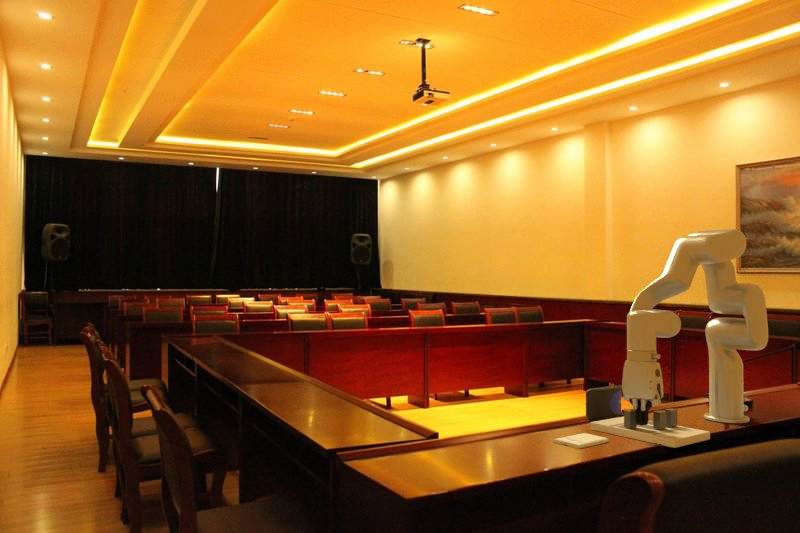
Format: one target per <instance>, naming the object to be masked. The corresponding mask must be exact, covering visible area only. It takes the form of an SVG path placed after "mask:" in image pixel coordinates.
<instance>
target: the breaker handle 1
mask: <svg viewBox="0 0 800 533" xmlns="http://www.w3.org/2000/svg"><path fill="white" fill-rule="evenodd" d="M652 413H653V414H652V416H653V418H652V421H653V428H656V429H664V428H666V411H665V410H661V409H660V410H655V411H653V412H652Z"/></svg>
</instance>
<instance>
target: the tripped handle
mask: <svg viewBox="0 0 800 533" xmlns="http://www.w3.org/2000/svg"><path fill="white" fill-rule="evenodd" d="M623 416H624V427H627V428H634V427H637V425H636V420H635V409H634V408H633V406H632V407H631V406H629V407H624V408H623Z"/></svg>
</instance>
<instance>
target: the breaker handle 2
mask: <svg viewBox="0 0 800 533" xmlns="http://www.w3.org/2000/svg"><path fill="white" fill-rule="evenodd" d="M664 411H666V426H669V427H674V426H678V409H677V408H676V409H675V408H672V407H671V408H665V409H664Z"/></svg>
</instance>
